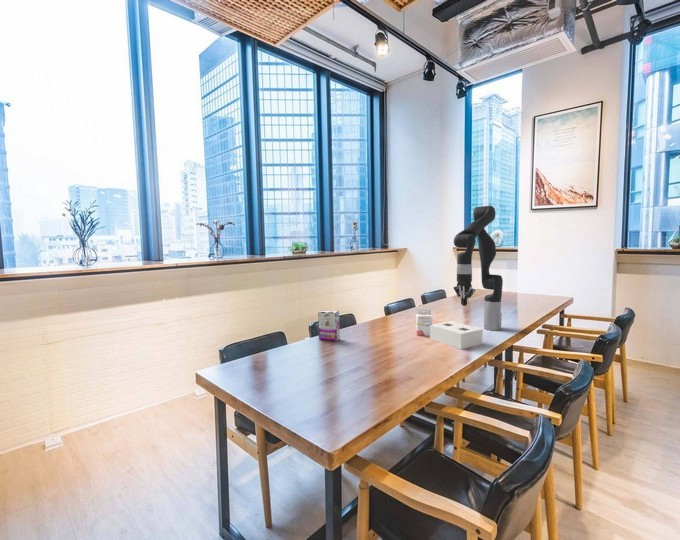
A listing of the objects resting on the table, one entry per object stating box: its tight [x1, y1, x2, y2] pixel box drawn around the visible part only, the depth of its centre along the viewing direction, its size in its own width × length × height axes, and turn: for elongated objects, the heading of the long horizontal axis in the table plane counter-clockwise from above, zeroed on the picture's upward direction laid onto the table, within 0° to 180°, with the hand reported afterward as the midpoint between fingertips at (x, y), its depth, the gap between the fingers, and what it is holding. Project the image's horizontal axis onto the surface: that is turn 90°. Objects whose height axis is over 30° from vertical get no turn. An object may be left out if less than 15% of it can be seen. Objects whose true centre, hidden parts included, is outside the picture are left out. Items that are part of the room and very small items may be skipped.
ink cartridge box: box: [415, 308, 433, 337], centre depth 206 cm, size 9×5×15 cm, turn 84°
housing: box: [429, 320, 484, 350], centre depth 192 cm, size 16×22×8 cm
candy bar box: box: [317, 309, 341, 342], centre depth 200 cm, size 11×5×16 cm, turn 68°
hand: (464, 305), depth 185 cm, fingers closed
